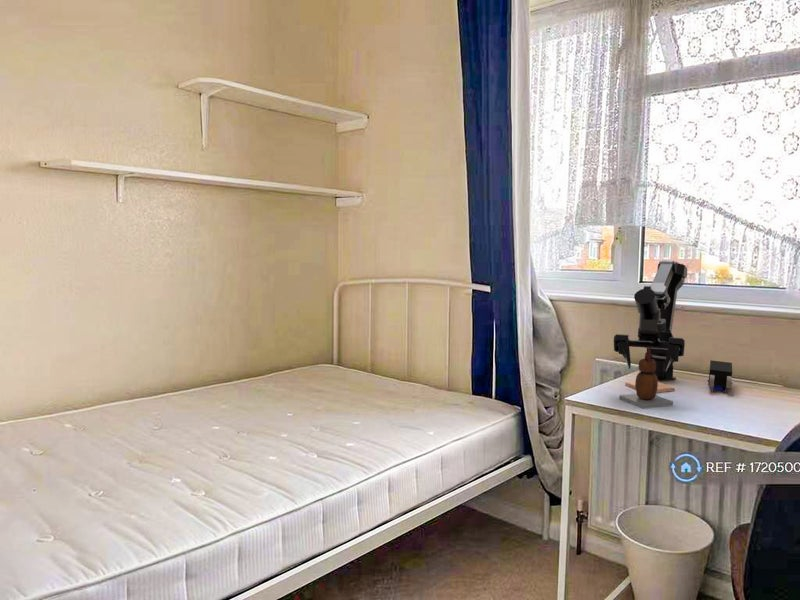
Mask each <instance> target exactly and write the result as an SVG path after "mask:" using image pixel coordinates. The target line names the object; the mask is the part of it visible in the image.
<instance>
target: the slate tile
mask: <svg viewBox="0 0 800 600" xmlns="http://www.w3.org/2000/svg"><path fill="white" fill-rule="evenodd" d="M619 400H622V401H624V402H626V401H627V403H629V404H632V405H634V406H636V407H638V408H641V409H648V408H657V407H668V406H673V405H674V401H673V400H670V399H668V398H666V397H661V396H659V395H657V394H656V395H655V397H654V398H653V399H650V400H645V399H641V398H639V397H638V396H637V393H630V394H629V393H628V394H619Z"/></svg>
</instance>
